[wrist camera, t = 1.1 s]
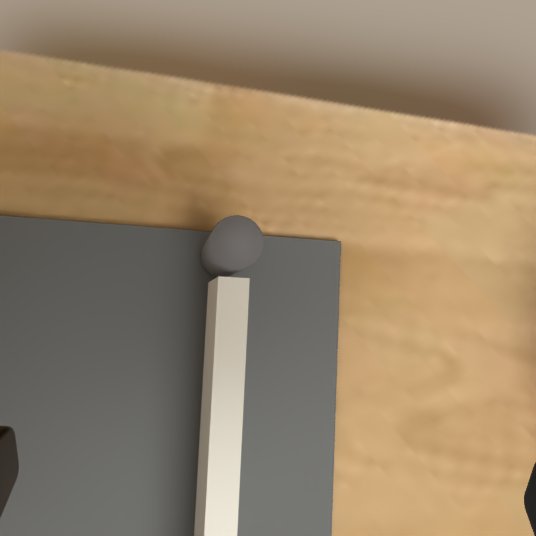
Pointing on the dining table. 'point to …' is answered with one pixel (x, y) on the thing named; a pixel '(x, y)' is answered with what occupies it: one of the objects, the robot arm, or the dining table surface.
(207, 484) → the gate
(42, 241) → the plate with peg
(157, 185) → the dining table surface
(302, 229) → the dining table surface
